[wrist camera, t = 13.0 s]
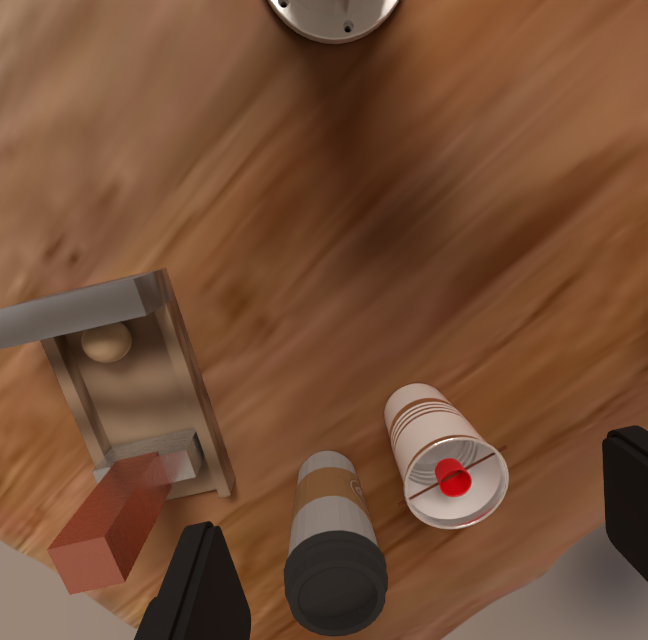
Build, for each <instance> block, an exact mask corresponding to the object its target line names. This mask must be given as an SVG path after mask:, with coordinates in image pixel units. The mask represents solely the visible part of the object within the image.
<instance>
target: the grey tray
mask: <svg viewBox="0 0 648 640" xmlns="http://www.w3.org/2000/svg"><path fill="white" fill-rule="evenodd" d="M116 322H121V323H123V324H124V325H125V326H126V327H127V328H128V329H129V331H130V333H131V337H132V343H131V347H130V349H129V351H128V352H127V354H126V355H125V356H124V357H122V358H121V359H119V360H117V361H114V362H109V363H103V362H98V361H95V360H93V359H91V358H90V357H89V356H88V355H87V354H86V353H85V352H84V350H83V348H82V342H81V341H82V335H83V332H84V331H85V330H86V329H90V328H94V327H99V326H103V325H107V324H112V323H116ZM38 340H41V343H42V345H43V347H44V350H45V352H46V354H47V356H48V359H49V361H50V363H51V366H52V368H53V370H54V372H55V375H56V377H57V379H58V382H59V384H60V386H61V388H62V391H63V393H64V395H65V398H66V400H67V402H68V404H69V407H70V409H71V411H72V414H73V416H74V418H75V421H76V423H77V425H78V427H79V430H80V432H81V434H82V437H83V439H84V441H85V443H86V446H87V448H88V450H89V453H90V455H91V457H92V459H93V462H94V464H95V466H97V465H98V464H99V462H100V461H101V460H102V459H103V458H104V456H105V455H106V454H107V453H108V452H109V451H110V449H111V448H112V447H114V446H119V445H123V444H128V443H132V442H136V441H141V440H145V439H149V438H154V437H158V436H163V435H167V434H171V433H176V432H180V431H185V430H189V429H193V428H195V429H196V432H197V435H198V438H199V441H200V444H201V446H202V449H203V452H204V455H205V457H204V459H203V462H202V464H201V466H200V469H199V471H198V473H197V476H196V477H194V478H190V479H185V480H181V481H177V482H172V483H171V486H172V488H171V490H170V492H169V494H168V496H167V498H166V500H171V499H175V498H179V497H184V496H188V495H193V494H197V493H201V492H206V491H210V490H215V489H217V492H218V495H219V498H222V497H226V496H230V495H231V492H232V489H233V485H234V481H235V476H234V473H233V470H232V467H231V464H230V461H229V458H228V455H227V452H226V449H225V445H224V442H223V439H222V436H221V433H220V430H219V427H218V424H217V421H216V418H215V415H214V412H213V409H212V406H211V403H210V400H209V397H208V394H207V391H206V388H205V385H204V382H203V379H202V376H201V373H200V370H199V367H198V364H197V361H196V358H195V355H194V352H193V349H192V346H191V343H190V340H189V337H188V334H187V331H186V328H185V325H184V322H183V319H182V316H181V313H180V310H179V307H178V304H177V301H176V298H175V295H174V292H173V289H172V286H171V283H170V280H169V277H168V274H167V271H166V268H162V269H158V270H153V271H149V272H145V273H140V274H136V275H132V276H128V277H123V278H119V279H115V280H110V281H106V282H102V283H97V284H93V285H89V286H85V287H80V288H76V289H72V290H67V291H63V292H59V293H54V294H50V295H46V296H42V297H39V298H35V299H32V300H29V301H25V302H22V303H18V304H15V305H12V306H8V307H5V308H2V309H0V348H1V349H4V348H8V347H12V346H17V345H21V344H25V343H29V342H34V341H38ZM166 500H165V501H166Z"/></svg>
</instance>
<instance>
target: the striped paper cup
mask: <svg viewBox="0 0 648 640" xmlns="http://www.w3.org/2000/svg"><path fill="white" fill-rule="evenodd" d="M384 420H385V424H386V427H387V431H388V434H389V438H390V441H391V446H392V450H393V453H394V457H395V460H396V463H397V466H398V468H399V471H400V474H401V478H402V481H403V484H404V488H403V489H404V497H405V500H404V501H402V502H400V503H398V505H399V506H400V505H402V504H404V503H405V502H406V503H407V506H408V507H409V509H410V510H411V512H412V513H413V514H414V515H415V516H416V517H417V518H418V519H419V520H421V521H422V522H424V523H426V524H428V525H430V526H433V527H437V528H442V529H459V528H464V527H468V526H471V525H474V524H476V523H478V522H480V521H482V520H483V519H485V518H486V517H488V516H489V515H490V514H491V513H493V512H494V511H495V510H496V508H497V507H498V506H499V505H500V503H501V502H502V500H503V498H504V496H505V494H506V492H507V488H508V483H509V471H508V467H507V464H506V461H505V459H504V458H503V456H502V455H501V453H500V452H501V451H502V450H504V449H506V448H507V447H506V446H504V447H502V448H500V449H498V450H497V449H496V448H495V447H493V446H492V445H491V444H489V443H487V442H486V441H485V440H484V439H483V438H482V437H481V436H480V435H479V434H478V432H477V431H476V430H475V429H474V428H473V426H472V425H471V424H470V423H469V422H468V421H467V420H466V419H465V418H464V416H463V415H462V414H461V413H460V412H459V411H458V410H457V409H456V408H455V407H454V406H453V405H452V404H451V403H450V402H449V401H448V400H447V399H446V398H445V397H444V396H443V395H442V394H441V393H440V392H439V391H438V390H437V389H436V388H434V387H432V386H430V385H427V384H422V383H414V384H409V385H406V386H403V387H401V388H400V389H398V390H397V391H395V392H394V393H393V394H392V395H391V397H390V398H389V399H388V401H387V403H386V406H385V409H384Z"/></svg>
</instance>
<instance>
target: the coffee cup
mask: <svg viewBox="0 0 648 640" xmlns="http://www.w3.org/2000/svg"><path fill="white" fill-rule="evenodd" d="M284 582H285V595H286V598H287V600H288V603H289V605H290V609H291V611H292V614H293V616H294V618H295V619H296V620H297V621H298V622H299V624H300V625H302V626H303V627H305V628H306V629H308V630H309V631H311V632H314V633H317V634H319V635H325V636H345V635H349V634H352V633H356V632H358V631H360V630H362V629H364V628H366V627H367V626H369V625H370V624H371V623H372V622H373V621H375V620H376V618H377V617H378V616H379V614H380V613H381V611H382V609H383V606H384V603H385V594H386V591H387V585H388V576H387V572H386V562H385V559H384V555H383V553H382V552H381V551H380V549H379V547H378V544H377V541H376V538H375V534H374V528H373V524H372V521H371V518H370V515H369V512H368V508H367V505H366V502H365V499H364V496H363V492H362V489H361V486H360V483H359V479H358V478H357V475H356V472H355V469H354V466H353V465H352V463H351V462H350V460H349V459H347V458H346V457H345V456H343V455H342V454H340V453H338V452H334V451H321V452H318V453H315V454H313V455H312V456H310V457H309V458H308V459H307V460H306V461H305V462H304V463H303V465H302V466H301V468H300V471H299V474H298V482H297V488H296V492H295V499H294V506H293V514H292V521H291V529H290V545H289V553H288V558H287V560H286V564H285V568H284Z"/></svg>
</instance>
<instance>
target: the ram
mask: <svg viewBox="0 0 648 640" xmlns="http://www.w3.org/2000/svg"><path fill="white" fill-rule="evenodd" d="M204 457H205V455H204V452H203V449H202V446H201V444H200V441H199V438H198V435H197V432H196V429H195V428H193V429H189V430H185V431H180V432H176V433H171V434H167V435H163V436H158V437H154V438H149V439H145V440H141V441H136V442H132V443H128V444H123V445H119V446H114V447H112V448H111V449H110V451H109V452H108V453H107V454H106V455H105V456H104V458H103V459H102V460H101V461H100V462H99V464H98V465H97V466H96V467H95V468H94V470H93V471H92V472H93V475H94V477H95V479H96V482H97V484H98V485H97V486H96V487H95V489H94V490H93V491H92V492H91V494H90V495H89V496H88V498H87V499H86V500H85V501H84V503H83V504H82V505H81V507H80V508H79V509H78V510H77V512H76V513H75V514H74V516H73V517H72V518H71V519H70V521H69V522H68V523H67V525H66V526H65V527H64V528H63V530H62V531H61V532H60V534H59V535H58V536H57V537H56V539H55V540H54V541H53V543H52V544H51V545H50V546H49V548H48V549H47V551H48V553H49V555H50V557H51V559H52V561H53V563H54V565H55V567H56V569H57V571H58V573H59V574H60V576H61V578H62V580H63V582H64V584H65V586H66V588H67V590H68V592H69V594H70V595H71V594H75V593H80V592H84V591H89V590H93V589H98V588H102V587H106V586H111V585H115V584H120V583H124V582H125V581H126V579H127V577H128V575H129V573H130V571H131V569H132V567H133V565H134V563H135V561H136V559H137V557H138V555H139V553H140V551H141V549H142V547H143V545H144V543H145V541H146V539H147V537H148V535H149V533H150V531H151V529H152V527H153V525H154V523H155V521H156V519H157V517H158V515H159V513H160V510H161V508H162V506H163V504H164V502H165V500H166V498H167V496H168V494H169V492H170V490H171V488H172V486H171V483H172V482H177V481H181V480H185V479H190V478H194V477H196V476H197V473H198V471H199V469H200V466H201V464H202V462H203V459H204Z"/></svg>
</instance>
